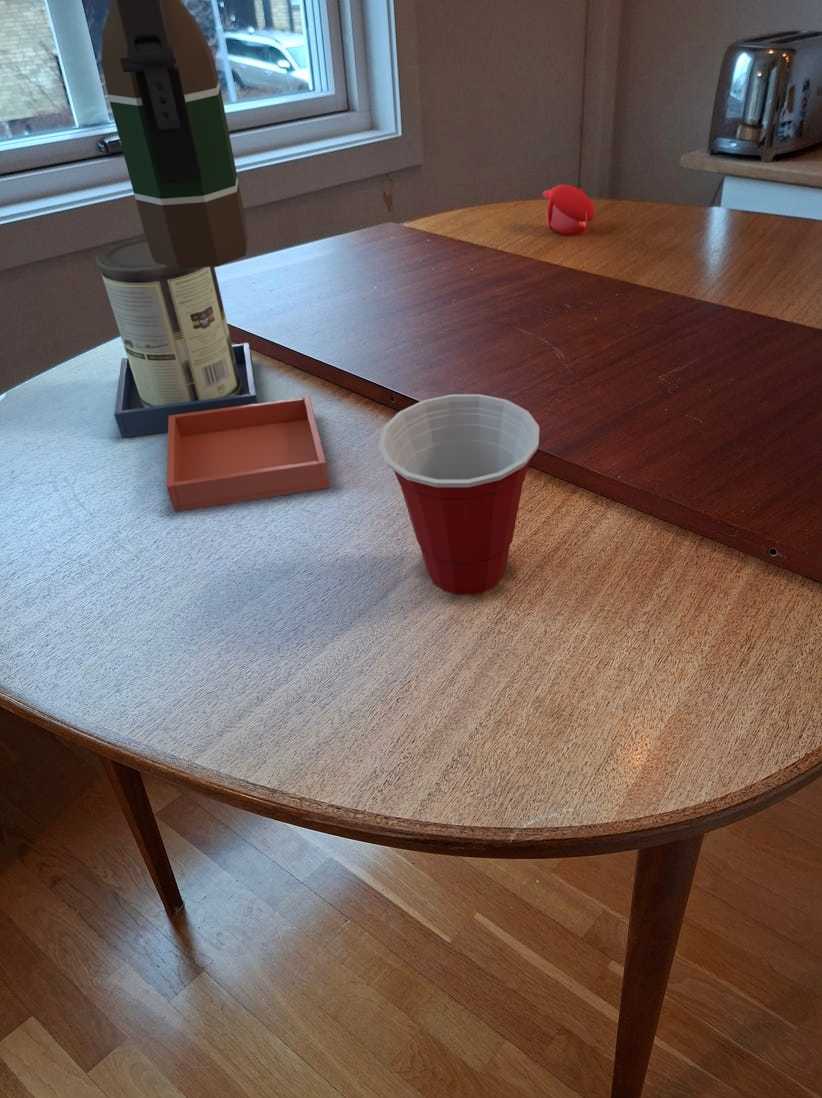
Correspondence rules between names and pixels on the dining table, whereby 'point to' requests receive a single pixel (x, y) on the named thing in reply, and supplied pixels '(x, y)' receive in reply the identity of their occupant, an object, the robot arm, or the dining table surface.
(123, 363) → the slate tray
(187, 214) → the beer bottle
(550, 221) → the cap
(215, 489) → the terracotta tray
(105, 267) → the coffee can
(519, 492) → the plastic cup
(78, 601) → the dining table surface
